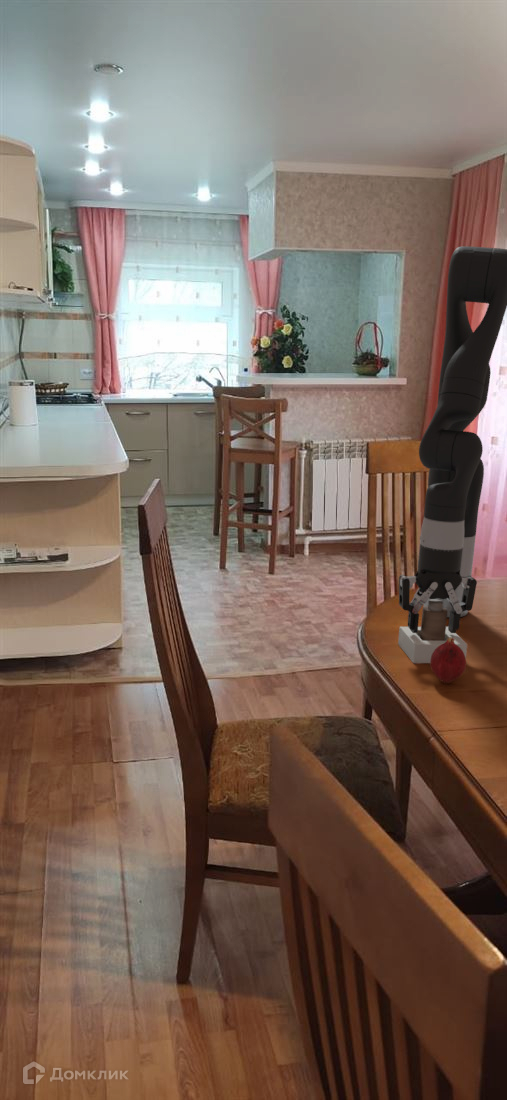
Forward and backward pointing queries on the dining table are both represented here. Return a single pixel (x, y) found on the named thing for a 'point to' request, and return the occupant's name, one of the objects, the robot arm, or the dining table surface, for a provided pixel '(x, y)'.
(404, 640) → the holder
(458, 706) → the dining table surface
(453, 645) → the onion
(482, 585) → the dining table surface
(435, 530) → the robot arm
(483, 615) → the dining table surface
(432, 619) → the pepper mill
